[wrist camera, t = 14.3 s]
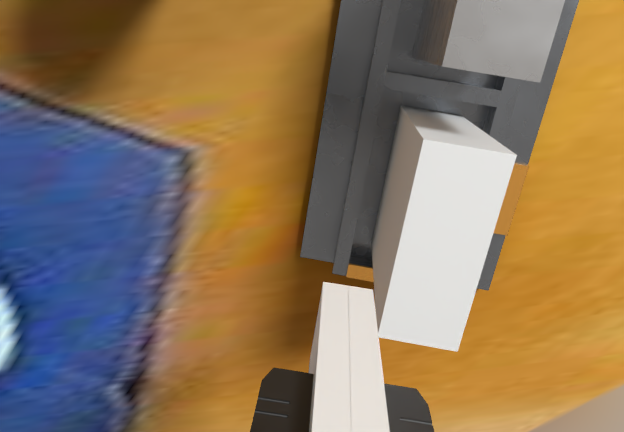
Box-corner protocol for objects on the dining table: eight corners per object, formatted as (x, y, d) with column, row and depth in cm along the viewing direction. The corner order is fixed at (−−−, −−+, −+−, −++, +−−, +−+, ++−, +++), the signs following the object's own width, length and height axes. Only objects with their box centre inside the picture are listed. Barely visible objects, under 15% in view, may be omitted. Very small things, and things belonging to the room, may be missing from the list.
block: (371, 244, 36) (377, 337, 25) (400, 105, 32) (423, 139, 21) (426, 253, 36) (457, 351, 24) (461, 115, 32) (516, 155, 21)
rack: (301, 250, 38) (274, 352, 25) (370, -173, 29) (378, -337, 16) (484, 282, 37) (547, 402, 25) (613, -136, 28) (813, -276, 16)
